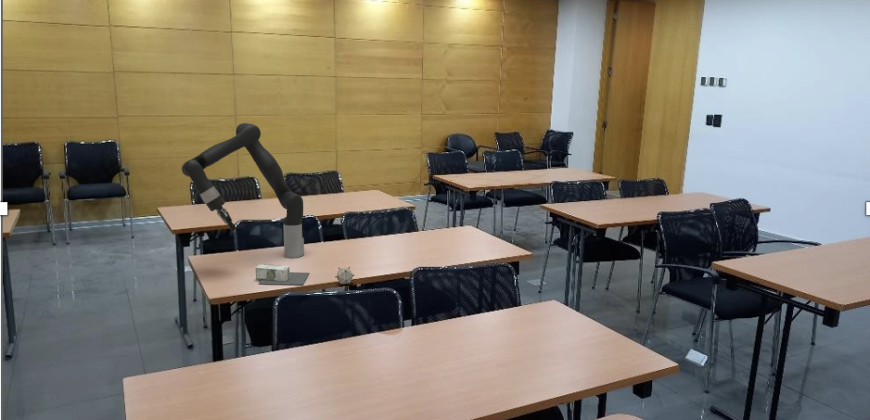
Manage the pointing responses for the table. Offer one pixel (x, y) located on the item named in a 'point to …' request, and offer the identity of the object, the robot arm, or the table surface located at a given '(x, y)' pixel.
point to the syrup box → (272, 272)
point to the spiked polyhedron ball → (344, 276)
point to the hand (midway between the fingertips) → (234, 229)
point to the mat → (294, 279)
